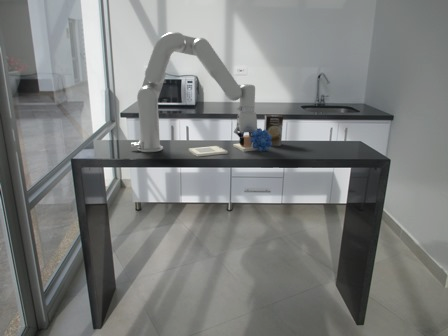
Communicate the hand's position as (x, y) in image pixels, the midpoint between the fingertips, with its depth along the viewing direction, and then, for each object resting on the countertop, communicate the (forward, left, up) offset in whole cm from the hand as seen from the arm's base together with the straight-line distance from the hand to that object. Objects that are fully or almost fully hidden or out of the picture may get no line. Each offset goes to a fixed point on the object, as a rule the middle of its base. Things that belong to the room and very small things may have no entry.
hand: (245, 144), depth 186 cm
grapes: (+4, -10, -2) cm, 11 cm away
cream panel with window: (-21, 0, -2) cm, 22 cm away
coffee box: (+18, +2, -2) cm, 18 cm away
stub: (0, 0, -2) cm, 2 cm away
